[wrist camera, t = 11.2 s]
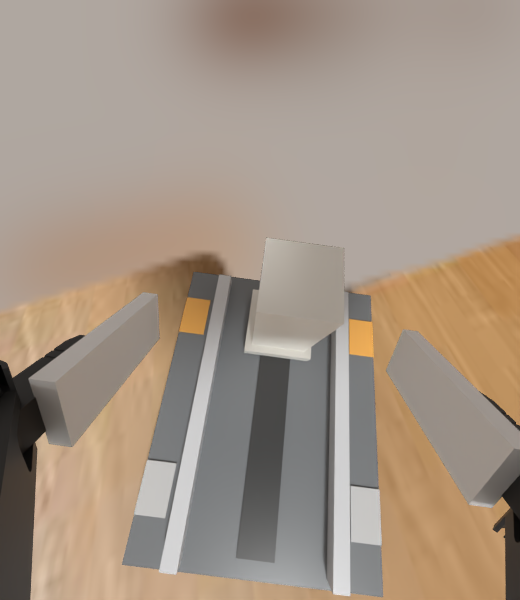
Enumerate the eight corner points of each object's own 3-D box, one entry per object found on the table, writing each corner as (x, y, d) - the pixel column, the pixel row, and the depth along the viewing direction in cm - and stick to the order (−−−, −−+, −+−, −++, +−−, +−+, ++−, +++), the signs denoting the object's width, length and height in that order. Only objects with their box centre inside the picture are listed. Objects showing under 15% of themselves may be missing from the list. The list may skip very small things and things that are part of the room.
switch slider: (310, 302, 21) (354, 241, 13) (306, 361, 20) (355, 336, 11) (252, 294, 21) (257, 228, 13) (244, 352, 19) (243, 321, 11)
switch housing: (356, 306, 25) (377, 290, 21) (361, 565, 18) (394, 613, 14) (199, 285, 25) (191, 265, 21) (141, 537, 18) (111, 578, 14)
